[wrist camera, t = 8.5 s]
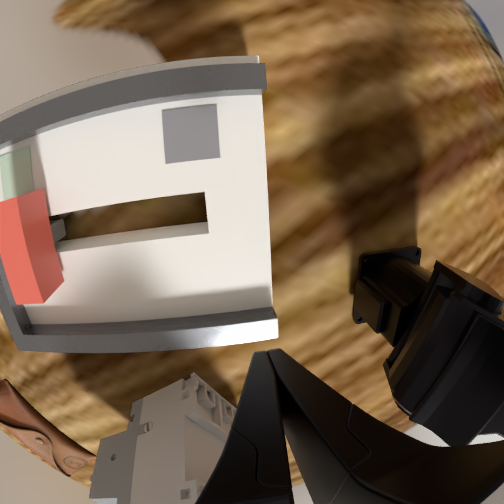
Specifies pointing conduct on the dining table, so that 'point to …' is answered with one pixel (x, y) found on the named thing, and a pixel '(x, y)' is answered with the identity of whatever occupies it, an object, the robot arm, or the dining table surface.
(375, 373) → the dining table surface
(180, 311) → the switch panel
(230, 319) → the grey frame
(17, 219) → the lever
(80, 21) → the dining table surface
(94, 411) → the dining table surface
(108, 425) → the dining table surface
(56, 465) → the sunglasses case
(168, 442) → the circuit breaker
